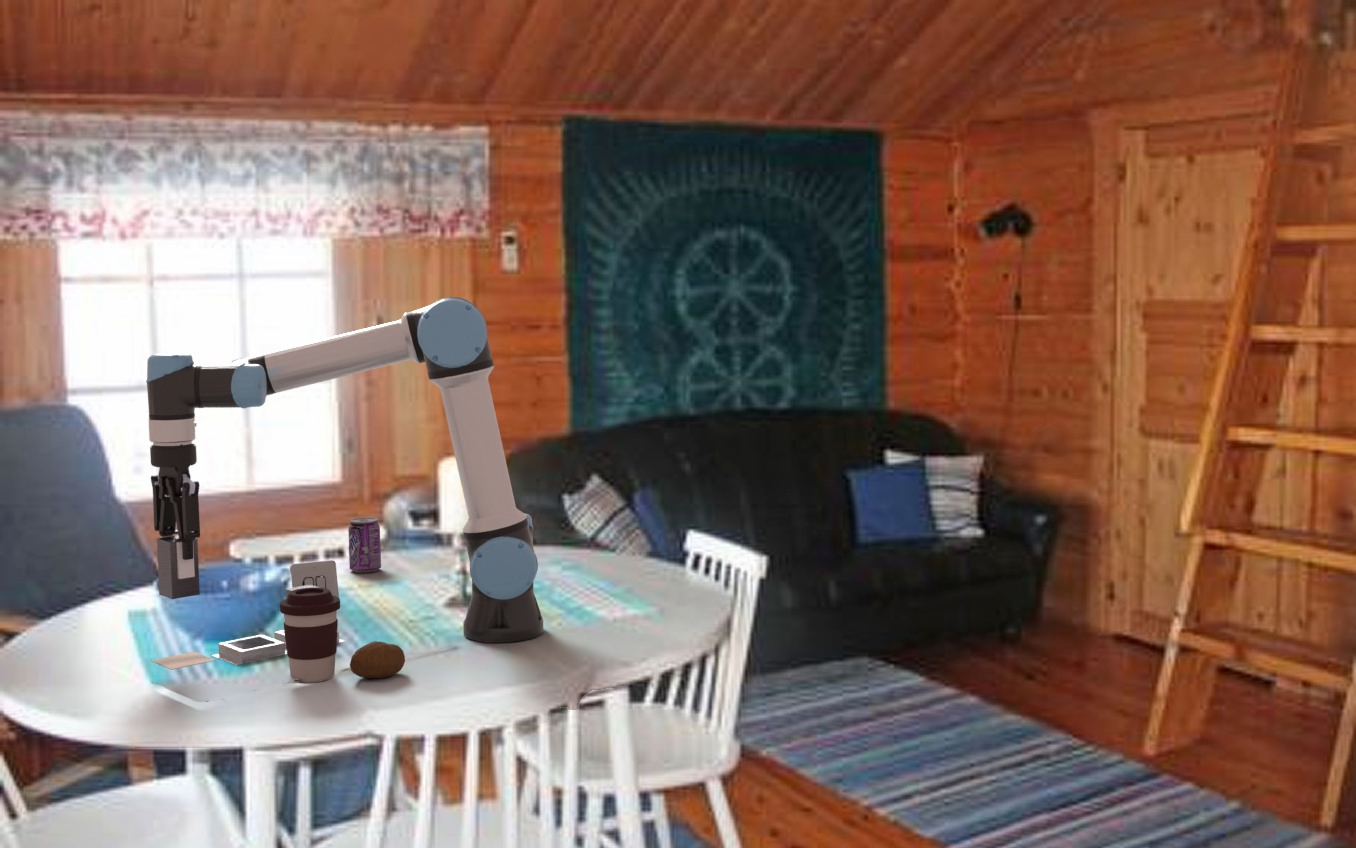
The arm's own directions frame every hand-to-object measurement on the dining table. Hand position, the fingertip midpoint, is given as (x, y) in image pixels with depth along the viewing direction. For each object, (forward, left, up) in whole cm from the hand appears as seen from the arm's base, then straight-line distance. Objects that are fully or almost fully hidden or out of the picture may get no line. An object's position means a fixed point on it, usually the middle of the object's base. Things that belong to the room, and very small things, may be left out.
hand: (178, 574), depth 249 cm
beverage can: (+45, -66, -17) cm, 82 cm away
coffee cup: (-23, -12, -17) cm, 31 cm away
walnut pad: (0, 0, -16) cm, 16 cm away
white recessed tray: (-5, -16, -16) cm, 23 cm away
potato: (-31, -20, -17) cm, 41 cm away
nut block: (0, 0, -4) cm, 4 cm away
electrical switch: (+24, -40, -17) cm, 50 cm away
